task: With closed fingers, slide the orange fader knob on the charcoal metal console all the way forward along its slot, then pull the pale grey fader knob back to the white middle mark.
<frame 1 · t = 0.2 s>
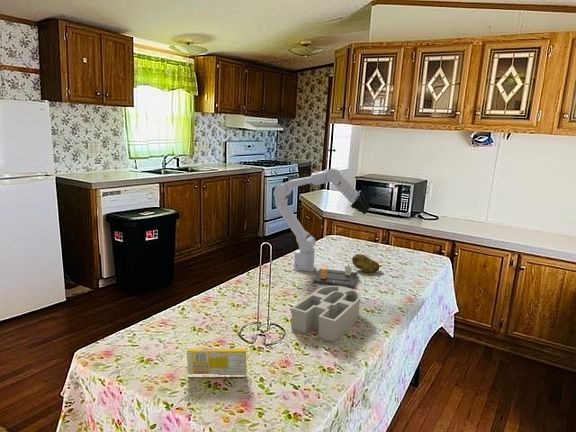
hand: (367, 211, 189), 31 cm above the table, tool tilted 45°, fingers open, 7 cm apart
console: (335, 279, 191), on the table
potato: (365, 271, 203), on the table
fader near: (324, 272, 187), point 4 cm above the table, slide at 1.0 cm
grey compartment organizer: (329, 322, 150), on the table
fader far: (348, 269, 192), point 4 cm above the table, slide at 11.0 cm
candy box: (217, 377, 116), on the table
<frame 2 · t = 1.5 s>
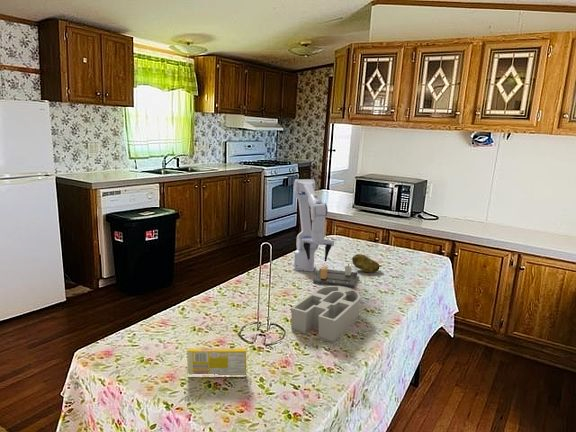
hand: (317, 259, 187), 10 cm above the table, tool pointing down, fingers open, 7 cm apart
nothing on the table moved.
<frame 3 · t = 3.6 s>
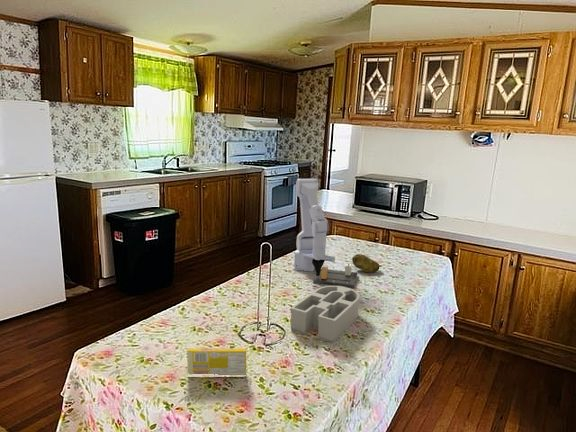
hand: (317, 275, 188), 3 cm above the table, tool pointing down, fingers closed
fader near: (324, 272, 187), point 4 cm above the table, slide at 1.2 cm, touching gripper
everything else where it was.
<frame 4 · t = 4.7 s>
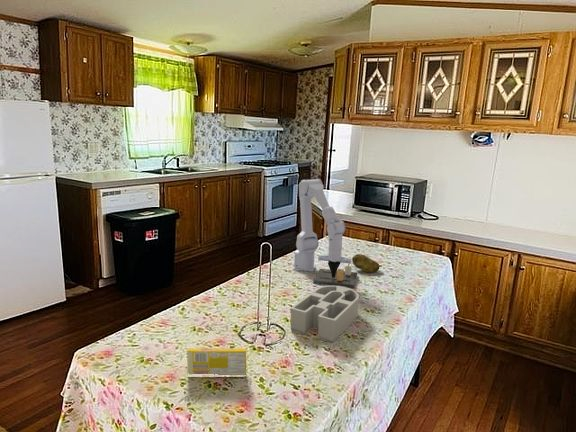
hand: (333, 277, 186), 3 cm above the table, tool pointing down, fingers closed
fader near: (340, 274, 185), point 4 cm above the table, slide at 8.4 cm, touching gripper
everything else where it was.
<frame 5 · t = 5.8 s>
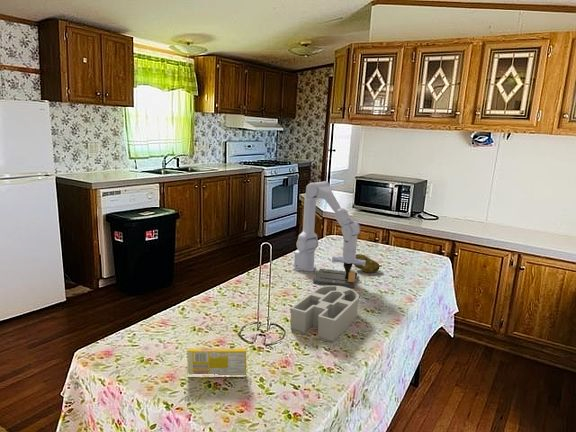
hand: (347, 278, 185), 2 cm above the table, tool pointing down, fingers closed, pressing on fader near
fader near: (351, 275, 184), point 4 cm above the table, slide at 13.5 cm, touching gripper
everything else where it was.
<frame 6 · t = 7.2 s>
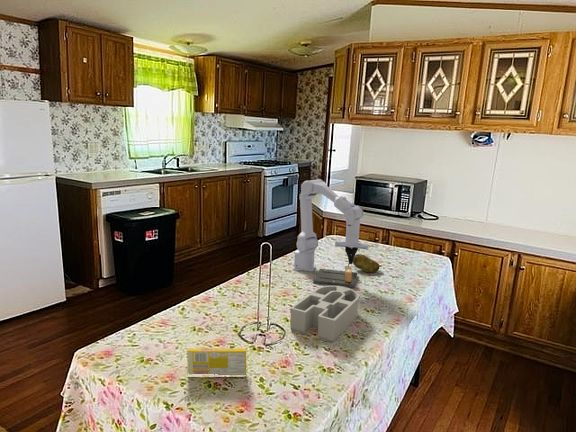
hand: (350, 263, 184), 9 cm above the table, tool pointing down, fingers closed
fader near: (348, 275, 185), point 4 cm above the table, slide at 12.0 cm
everything else where it was.
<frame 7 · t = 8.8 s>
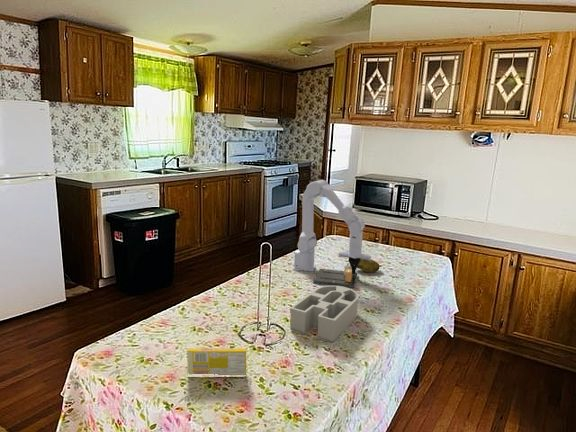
hand: (353, 273, 192), 2 cm above the table, tool pointing down, fingers closed
fader far: (347, 269, 192), point 4 cm above the table, slide at 10.6 cm, touching gripper
everything else where it was.
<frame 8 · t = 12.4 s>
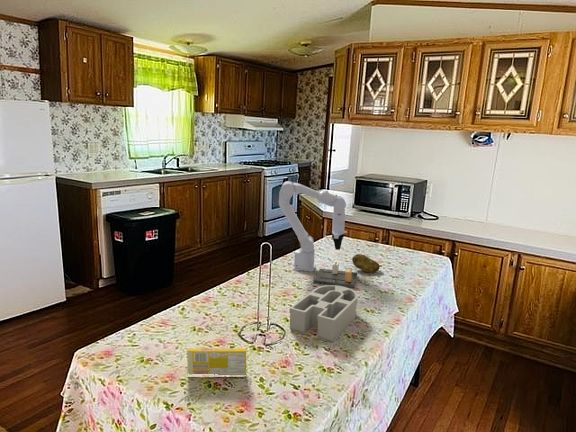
hand: (337, 249, 201), 10 cm above the table, tool pointing down, fingers closed
fader far: (335, 267, 194), point 4 cm above the table, slide at 5.1 cm
everything else where it was.
at the end: fader near slide at 12.0 cm; fader far slide at 5.1 cm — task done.
